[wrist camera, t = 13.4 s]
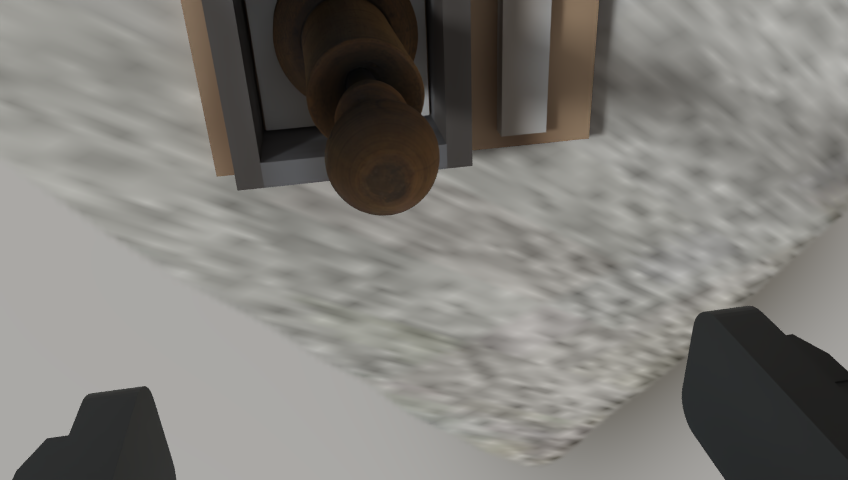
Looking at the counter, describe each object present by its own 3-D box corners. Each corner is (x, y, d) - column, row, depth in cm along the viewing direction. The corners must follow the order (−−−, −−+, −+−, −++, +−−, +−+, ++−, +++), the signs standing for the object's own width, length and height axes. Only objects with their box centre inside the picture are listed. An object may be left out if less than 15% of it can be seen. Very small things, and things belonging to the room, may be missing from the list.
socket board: (598, -154, 33) (655, -158, 27) (579, 129, 39) (622, 169, 34) (159, -132, 30) (131, -131, 25) (219, 165, 37) (207, 214, 32)
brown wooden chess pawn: (426, 76, 34) (535, 253, 19) (300, 113, 34) (304, 322, 19) (391, -65, 31) (488, 7, 15) (252, -25, 31) (208, 88, 15)
